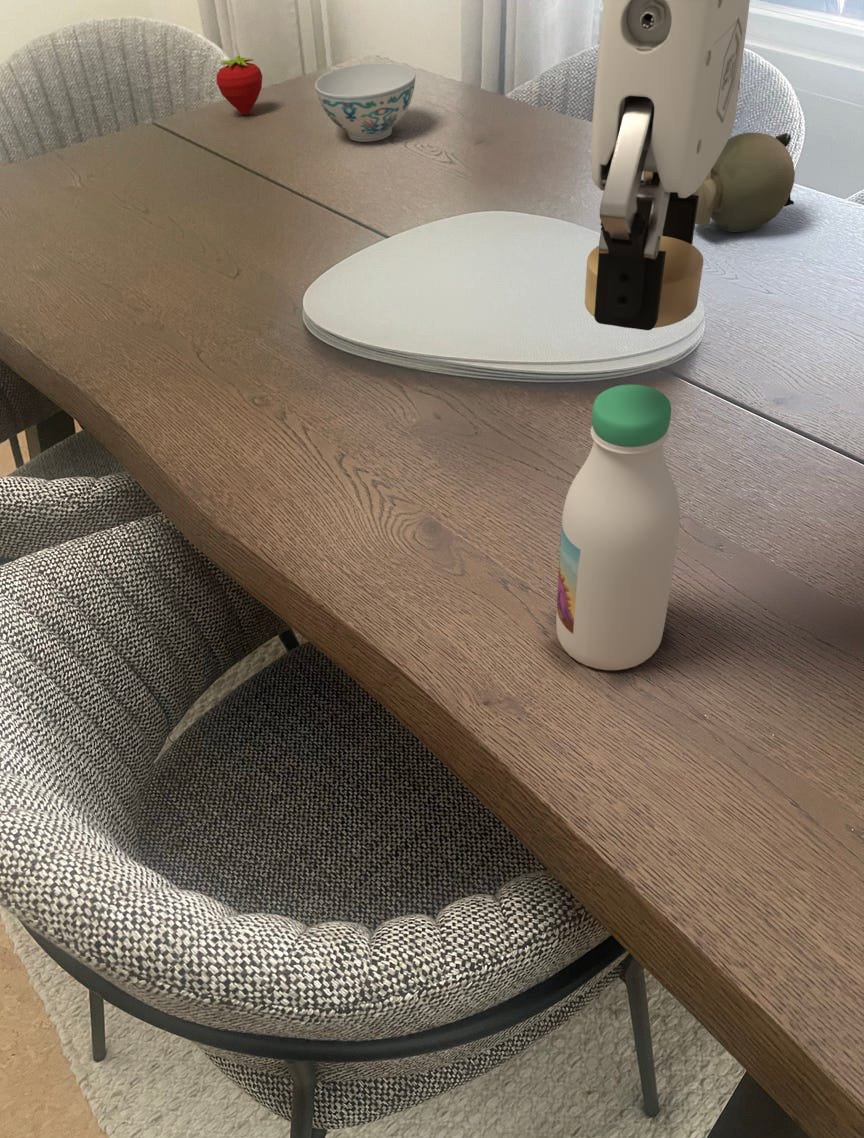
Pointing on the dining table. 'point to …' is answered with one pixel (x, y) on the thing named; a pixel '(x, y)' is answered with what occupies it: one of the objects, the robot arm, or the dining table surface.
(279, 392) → the dining table surface
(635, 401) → the milk bottle
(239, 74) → the strawberry
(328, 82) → the chinaware
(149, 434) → the dining table surface
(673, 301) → the tan short cylinder
